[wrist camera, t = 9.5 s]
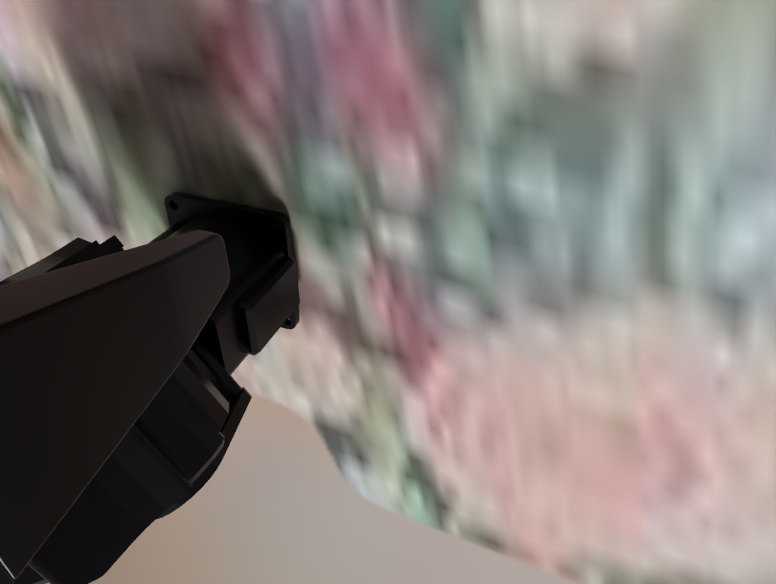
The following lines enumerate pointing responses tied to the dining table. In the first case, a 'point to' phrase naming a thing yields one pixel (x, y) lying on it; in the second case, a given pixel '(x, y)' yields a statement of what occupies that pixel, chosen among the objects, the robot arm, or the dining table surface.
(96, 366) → the robot arm
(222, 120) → the dining table surface
